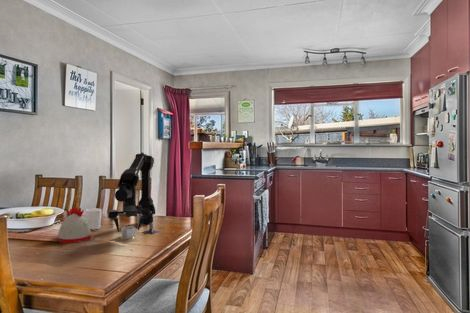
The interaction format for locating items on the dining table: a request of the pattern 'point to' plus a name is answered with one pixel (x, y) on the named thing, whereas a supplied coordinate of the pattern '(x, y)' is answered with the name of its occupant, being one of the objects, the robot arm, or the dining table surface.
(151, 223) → the stand
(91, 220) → the white cup
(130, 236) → the collar
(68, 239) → the chicken hat
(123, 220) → the dining table surface
